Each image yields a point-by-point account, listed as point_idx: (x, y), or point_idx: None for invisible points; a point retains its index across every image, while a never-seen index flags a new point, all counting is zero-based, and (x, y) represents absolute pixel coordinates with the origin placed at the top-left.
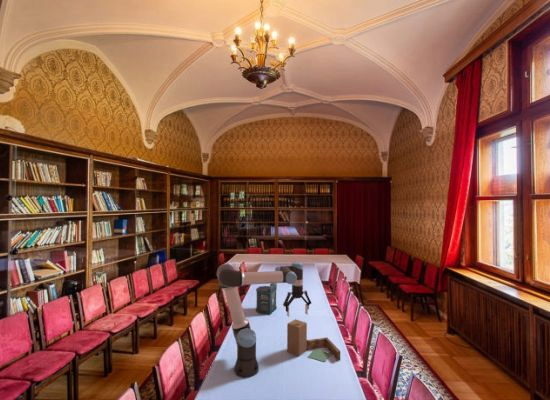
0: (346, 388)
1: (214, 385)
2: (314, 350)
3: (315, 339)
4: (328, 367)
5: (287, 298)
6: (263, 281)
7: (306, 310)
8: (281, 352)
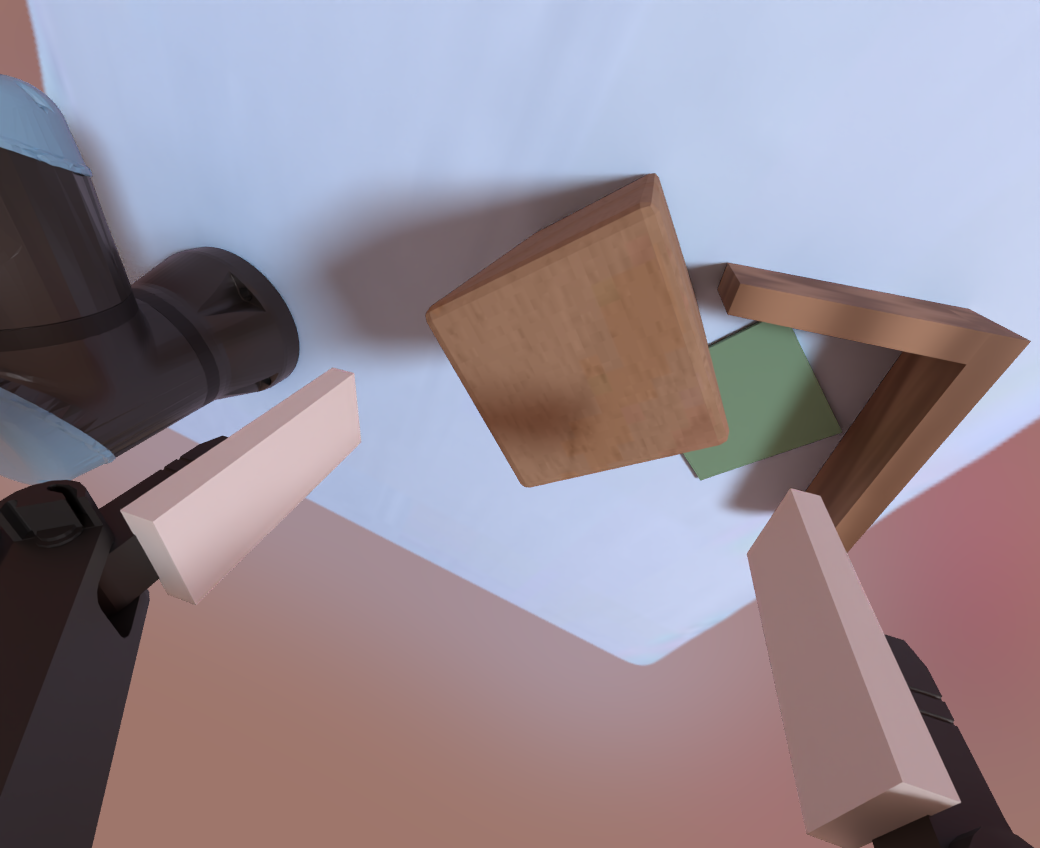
0: (626, 632)
1: None
2: (757, 336)
3: (844, 318)
4: (675, 519)
5: None
6: None
7: (771, 634)
8: (485, 222)
